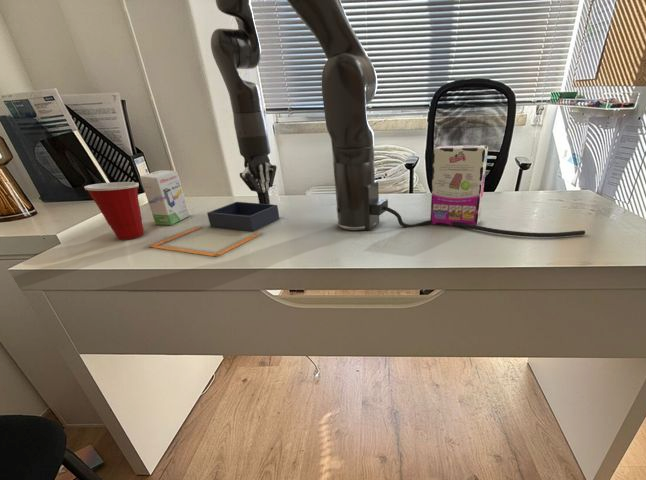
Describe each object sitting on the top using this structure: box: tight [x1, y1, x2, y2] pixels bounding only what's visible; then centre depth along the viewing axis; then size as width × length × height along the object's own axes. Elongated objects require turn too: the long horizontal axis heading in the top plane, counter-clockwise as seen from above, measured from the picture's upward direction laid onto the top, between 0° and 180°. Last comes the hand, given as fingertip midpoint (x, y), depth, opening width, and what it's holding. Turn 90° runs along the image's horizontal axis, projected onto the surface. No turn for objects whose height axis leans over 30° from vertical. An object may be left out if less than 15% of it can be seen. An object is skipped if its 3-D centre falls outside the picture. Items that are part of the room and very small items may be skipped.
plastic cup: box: [83, 181, 145, 241], centre depth 90 cm, size 11×11×12 cm
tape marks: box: [148, 226, 261, 258], centre depth 88 cm, size 20×15×1 cm
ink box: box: [139, 169, 191, 226], centre depth 100 cm, size 9×5×12 cm, turn 168°
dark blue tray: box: [206, 201, 280, 232], centre depth 98 cm, size 13×11×4 cm
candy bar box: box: [429, 145, 489, 227], centre depth 87 cm, size 11×5×16 cm, turn 68°
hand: (265, 206), depth 105 cm, fingers closed
